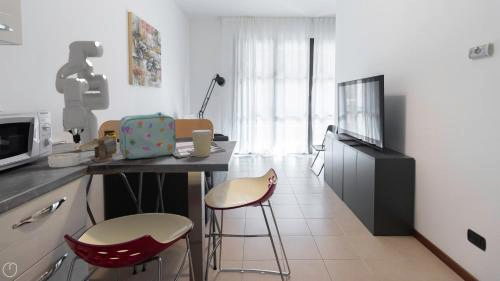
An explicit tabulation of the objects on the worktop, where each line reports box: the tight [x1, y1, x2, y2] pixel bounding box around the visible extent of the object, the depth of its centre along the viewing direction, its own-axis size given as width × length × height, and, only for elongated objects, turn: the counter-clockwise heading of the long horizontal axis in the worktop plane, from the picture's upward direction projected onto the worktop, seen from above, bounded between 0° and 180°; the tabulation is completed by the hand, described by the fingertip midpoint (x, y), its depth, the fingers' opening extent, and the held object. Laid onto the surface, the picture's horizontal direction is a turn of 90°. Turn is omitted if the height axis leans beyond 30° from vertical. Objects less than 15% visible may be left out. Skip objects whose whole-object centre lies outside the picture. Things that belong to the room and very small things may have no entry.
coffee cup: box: [191, 129, 212, 158], centre depth 174 cm, size 9×9×12 cm
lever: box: [71, 135, 118, 152], centre depth 171 cm, size 17×15×7 cm
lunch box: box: [118, 111, 177, 160], centre depth 174 cm, size 27×10×21 cm, turn 126°
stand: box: [90, 138, 115, 163], centre depth 169 cm, size 11×8×10 cm
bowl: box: [47, 152, 82, 169], centre depth 159 cm, size 12×12×4 cm
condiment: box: [103, 129, 121, 155], centre depth 189 cm, size 7×8×12 cm
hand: (77, 143), depth 172 cm, fingers closed
